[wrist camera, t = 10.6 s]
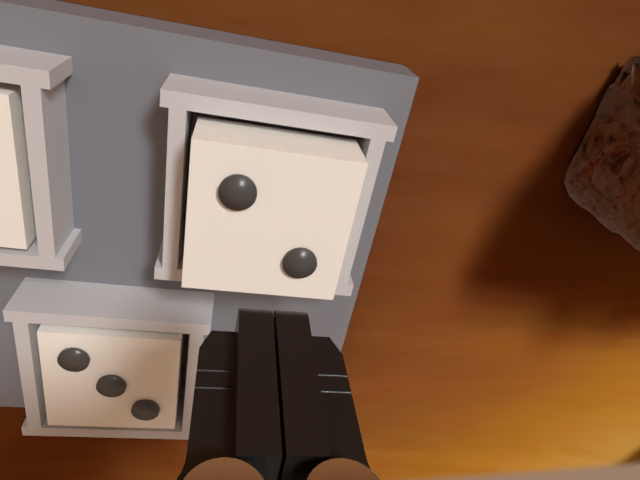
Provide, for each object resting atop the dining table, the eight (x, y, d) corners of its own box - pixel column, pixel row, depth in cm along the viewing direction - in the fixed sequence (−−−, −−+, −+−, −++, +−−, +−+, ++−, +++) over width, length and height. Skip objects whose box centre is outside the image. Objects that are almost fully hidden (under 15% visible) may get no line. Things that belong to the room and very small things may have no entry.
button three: (186, 307, 20) (180, 343, 18) (180, 392, 23) (174, 432, 21) (55, 297, 19) (35, 334, 17) (64, 387, 22) (46, 428, 20)
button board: (403, 65, 18) (438, 93, 15) (317, 387, 27) (326, 453, 23) (-202, -48, 15) (-341, -45, 11) (-82, 368, 23) (-140, 442, 19)
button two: (356, 140, 16) (369, 165, 14) (325, 267, 18) (333, 302, 17) (198, 116, 15) (190, 140, 13) (188, 253, 17) (180, 290, 16)
